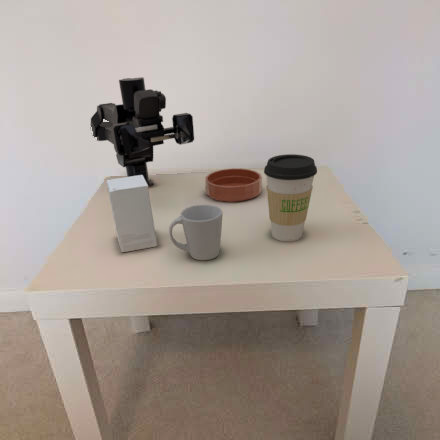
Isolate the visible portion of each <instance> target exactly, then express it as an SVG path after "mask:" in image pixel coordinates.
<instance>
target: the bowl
mask: <svg viewBox="0 0 440 440" xmlns="http://www.w3.org/2000/svg"><path fill="white" fill-rule="evenodd" d="M262 181H263V177H262V174H261V173H259V172H258V171H256V170H253V169H247V168H234V167H233V168H224V169H219V170H215V171H212V172H210V173H208V174H207V175H206V176H205V181H204V182H205V194H206V195H207V196H208V197H209V198H211V199H214V200H216V201H220V202H226V203H238V202H244V201H245V202H246V201H248V200H251V199H252V200H253V199H254V198H255V197H257V196H259V195H260V194H261V193H262V190H263V182H262Z"/></svg>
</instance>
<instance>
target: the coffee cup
mask: <svg viewBox="0 0 440 440" xmlns="http://www.w3.org/2000/svg"><path fill="white" fill-rule="evenodd" d="M263 173H264V175H266V176H265V177H266V195H267V205H268V215H269V220H270V230H271V236H272V238H273V239H275V240H278V241H280V242H295V241H298V240H299V239H301V238H302V236H303V231H304V227H305V222H306V221H307V216H308V212H309V206H310V201H311V197H312V192H313V183H314V177H315V176H316V174H317V173H318V167H317V165H316V163H315V160H314V158H312V157H311V156H308V155H303V154H295V153H294V154H293V153H292V154H291V153H289V154H279V155H275V156H272V157H269V158H268V160H267V162H266V164H265V166H264V170H263Z"/></svg>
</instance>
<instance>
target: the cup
mask: <svg viewBox="0 0 440 440" xmlns="http://www.w3.org/2000/svg"><path fill="white" fill-rule="evenodd" d="M176 225H182V229H183V233H184V237H185V241H186V243H182V242H181V243H180V242H178V241H177V240H176V239H175V238H174V236H173V228H174V227H175V226H176ZM222 226H223V210H222V208H221V207H219V206H218V205H217V206H216V205H214V204H195V205H191V206H188V207H186V208H184V209H183V210H182V211H181V212H180V215H179V216H178V217H177V218H175V219H174V220H172V221H171V223H170V224H169V229H168V232H169V238H170V240H171V242H172V243H173V245H174V246H175V247H176V248H178V249H179V250H182V251H184V252H188V253H189V255H190V257H191V258H193V259H195V260H197V261H209V260H213V259H215V258H217V257H218V255H220V251H221V239H222V230H223V229H222V228H223V227H222Z"/></svg>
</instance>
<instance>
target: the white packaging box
mask: <svg viewBox="0 0 440 440" xmlns="http://www.w3.org/2000/svg"><path fill="white" fill-rule="evenodd" d="M106 186H107V192H108V198H109V203H110V207H111V212H112V217H113V222H114V226H115V232H116V236H117V241H118V244H119V248H120V252H121V253H126V252H128V253H129V252H132V251H133V252H134V251H139V250H143V249H144V250H145V249H149V248H155V247H156V248H157V246H158V243H157V236H156V229H155V224H154V223H155V222H154V215H153V210H152V204H151V203H152V202H151V196H150V190H149V189H150V188H149V186H148V185H147V183H146V181H145V179H144V177H143V175H137V176H130V177H127V176H124V177H118V178H117V177H116V178H112V179H107V180H106Z"/></svg>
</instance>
